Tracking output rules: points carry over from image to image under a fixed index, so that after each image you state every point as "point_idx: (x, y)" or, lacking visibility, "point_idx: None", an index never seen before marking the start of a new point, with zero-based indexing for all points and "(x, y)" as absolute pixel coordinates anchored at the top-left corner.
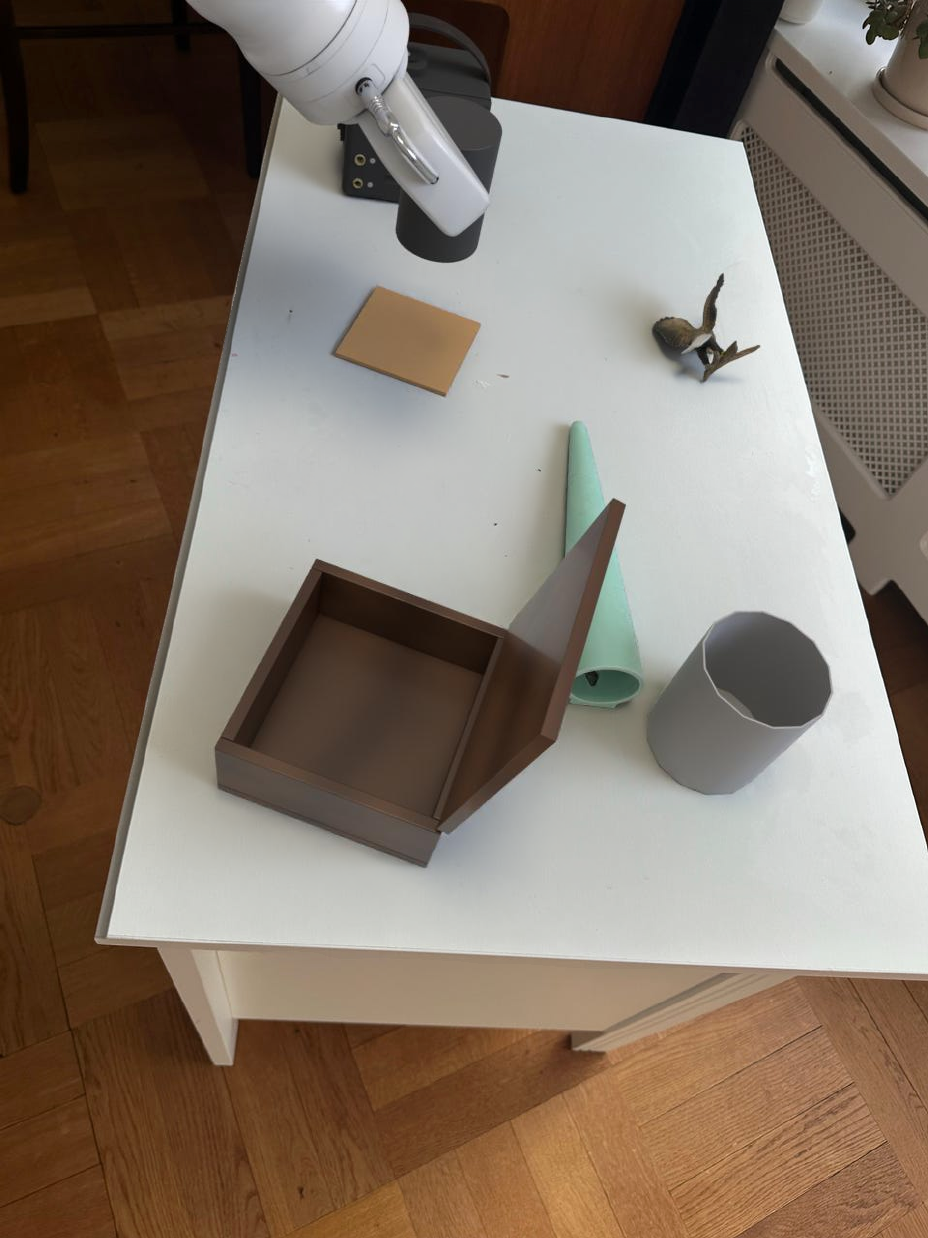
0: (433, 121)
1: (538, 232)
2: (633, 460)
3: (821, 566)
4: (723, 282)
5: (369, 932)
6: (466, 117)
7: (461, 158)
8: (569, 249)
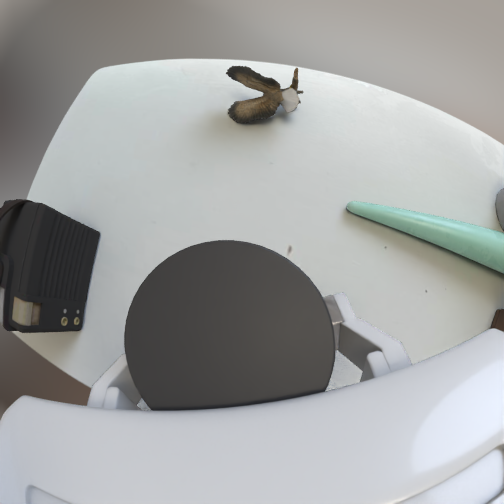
0: (437, 483)
1: (127, 183)
2: (372, 176)
3: (427, 111)
4: (247, 67)
5: None
6: (202, 322)
7: (493, 401)
8: (148, 163)
